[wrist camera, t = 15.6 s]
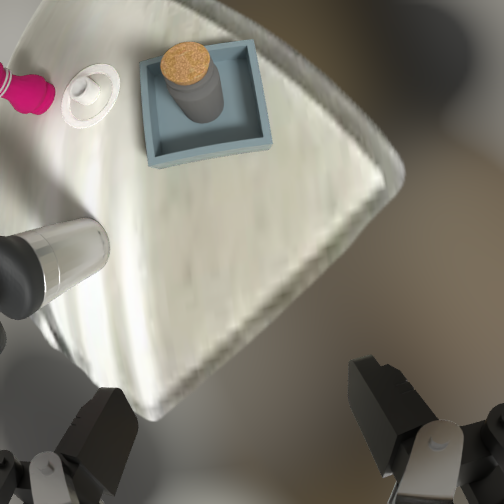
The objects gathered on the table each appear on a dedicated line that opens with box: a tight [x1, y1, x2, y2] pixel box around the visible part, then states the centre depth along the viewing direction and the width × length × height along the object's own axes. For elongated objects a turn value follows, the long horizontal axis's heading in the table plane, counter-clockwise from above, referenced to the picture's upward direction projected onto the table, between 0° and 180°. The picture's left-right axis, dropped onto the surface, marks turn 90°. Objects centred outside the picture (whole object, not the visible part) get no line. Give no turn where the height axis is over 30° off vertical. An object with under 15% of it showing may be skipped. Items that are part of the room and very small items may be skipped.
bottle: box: [160, 42, 224, 124], centre depth 28 cm, size 6×6×15 cm
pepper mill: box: [0, 62, 55, 115], centre depth 24 cm, size 7×7×20 cm
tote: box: [140, 39, 273, 169], centre depth 34 cm, size 16×16×5 cm
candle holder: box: [61, 64, 120, 128], centre depth 32 cm, size 12×12×4 cm
